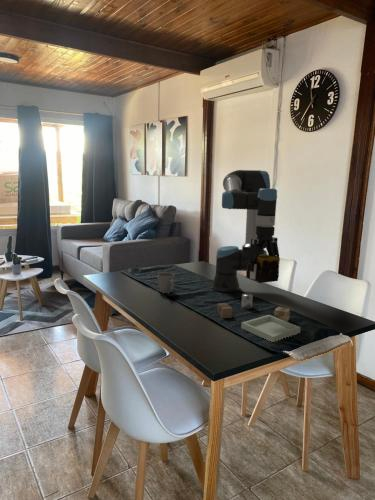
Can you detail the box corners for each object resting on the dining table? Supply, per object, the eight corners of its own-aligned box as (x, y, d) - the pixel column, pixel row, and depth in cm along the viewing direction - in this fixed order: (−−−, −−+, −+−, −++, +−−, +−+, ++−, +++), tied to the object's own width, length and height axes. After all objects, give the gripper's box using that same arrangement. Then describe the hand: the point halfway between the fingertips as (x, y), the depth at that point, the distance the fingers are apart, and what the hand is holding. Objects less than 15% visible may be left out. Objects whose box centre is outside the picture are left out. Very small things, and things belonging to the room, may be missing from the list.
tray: (241, 328, 150) (241, 322, 150) (268, 319, 160) (268, 314, 160) (272, 342, 138) (273, 336, 137) (300, 333, 147) (300, 327, 147)
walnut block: (217, 312, 167) (217, 303, 166) (226, 312, 168) (226, 303, 168) (222, 318, 161) (222, 308, 160) (231, 317, 162) (232, 308, 161)
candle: (259, 283, 151) (261, 259, 150) (245, 277, 160) (246, 255, 158) (279, 281, 156) (280, 258, 154) (263, 275, 165) (265, 253, 163)
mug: (154, 290, 196) (154, 273, 194) (168, 288, 201) (169, 271, 199) (165, 297, 186) (165, 278, 184) (180, 294, 191) (180, 276, 189)
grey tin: (239, 306, 176) (239, 294, 175) (246, 304, 179) (247, 292, 178) (246, 309, 172) (247, 297, 171) (254, 307, 175) (254, 295, 174)
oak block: (273, 320, 160) (274, 309, 159) (277, 317, 164) (278, 306, 163) (285, 323, 157) (286, 312, 156) (288, 319, 161) (289, 309, 160)
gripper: (252, 228, 144) (249, 282, 148) (290, 225, 158) (286, 275, 162) (239, 226, 150) (236, 278, 154) (276, 223, 164) (273, 272, 168)
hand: (262, 277), depth 158 cm, fingers closed on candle, 11 cm apart
